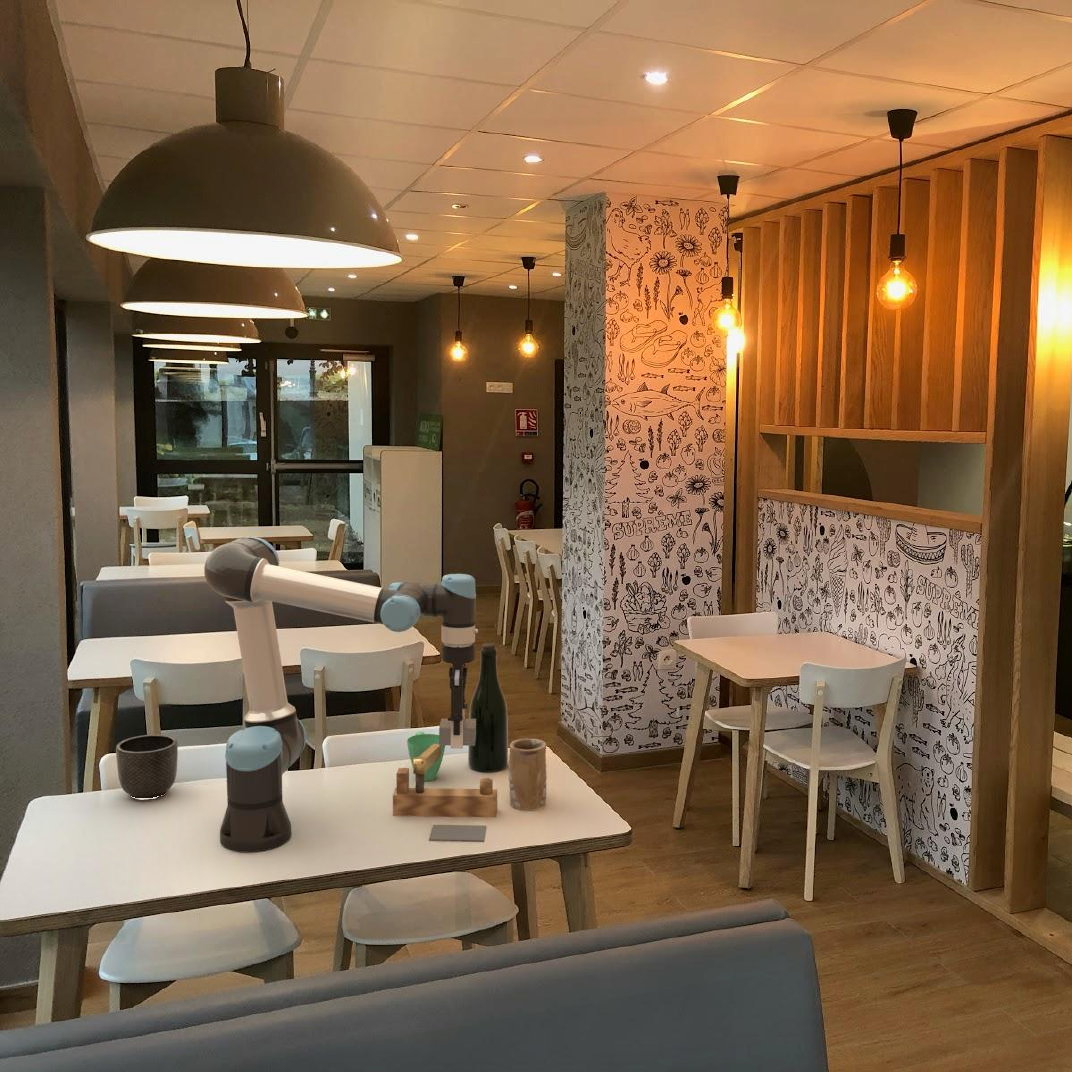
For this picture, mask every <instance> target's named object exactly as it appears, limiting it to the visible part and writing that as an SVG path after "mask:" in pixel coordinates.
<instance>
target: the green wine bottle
mask: <svg viewBox="0 0 1072 1072" xmlns="http://www.w3.org/2000/svg"><path fill="white" fill-rule="evenodd" d="M479 655H480V665H479V666H480V667H479V668H480V669H479V676H478V677H479V678H478V682H477V684H476V687H475V689H474V693H473V696H472V698H471V700H470V705H469V715H468V716H469V717H468V719H476V740H475V746H468V747H467V748H468V749H467V751H468V752H467V753H468V758H467V759H468V761H467V762H468V763H467V764H468V766H469V767H470V768H471V769H472V770H475V771H478V772H487V773H489V772H490V773H491V772H497V771H501V770H503V769H506V768H507V766H508V765H509V739H508V737H509V734H508V733H509V732H508V731H509V727H508V722H509V721H508V719H509V718H508V705H507V701H506V698H505V695H504V692H503V690H502V687H501V685H500V682H499V681H500V680H499V676H498V675H499V674H498V659H497V658H498V657H497V656H498V649H497V648H496V644H494V643H490V642H489V643H488V642H487V643H483V644H482V648H481V649H480V653H479Z"/></svg>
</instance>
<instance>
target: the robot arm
mask: <svg viewBox="0 0 1072 1072" xmlns="http://www.w3.org/2000/svg"><path fill="white" fill-rule="evenodd" d="M203 573H204V578H205V581H206V583H207V584H208V586H209V587H210V588H211V589H212V590H213V591H214V592H215V593H217V595H220V596H222V597H224V602H225V603H226V604H228V605H229V606H231V607H232V609H233V614H234V622H235V626H236V632H237V638H238V640H237V641H238V646H239V652H240V656H241V657H240V658H241V663H242V668H243V669H242V670H243V676H244V682H245V688H246V696H247V700H248V706H249V710H248V712H247V713H246V714H245V715H244V718H243V720H244V727H245V728H244V729H239V730H237V731H236V732H234V733H233V734H231V735H230V737H229V738H228V739H227V741H226V746H225V749H226V750H225V755H224V757H225V764H226V765H225V766H226V767H225V769H226V771H225V772H226V773H225V774H226V796H227V797H226V798H227V799H226V800H227V802H226V803H227V806H226V811H225V813H224V817H223V820H222V822H221V826H220V830H219V842H220V845H221V846H223V848H226V849H227V850H230V851H234V852H247V853H248V852H249V853H250V852H252V853H253V852H262V851H266V850H271V849H274V848H277V847H279V846H281V845H283V844H285V843H286V842H288V841H289V840H290V839H291V837H292V824H291V820H290V817H289V815H288V812H287V808H286V807H285V805H284V801H283V799H284V798H283V774H285V772H286V771H287V770H288V769H289V768H290V767H291V766H292V765H293V764H294V763H295V762H297V761H298V759H299V758H300V757H301V756H302V752H303V751H304V749H305V746H306V743H307V732H306V728H305V725H304V723H302V721H301V720H300V719H298V716H297V710H296V707H295V706H294V705H292V704H291V703H289V702H288V701H289V700H288V696H287V695H288V694H287V690H286V684H285V678H284V670H283V665H282V663H283V662H282V658H281V650H280V645H279V639H278V638H279V637H278V632H277V625H276V619H275V613H274V606H273V602H274V603H279V604H282V605H290V606H293V607H298V608H303V609H307V610H311V611H318V612H322V613H326V614H327V613H328V614H332V615H336V616H341V617H347V618H351V619H356V620H359V621H360V620H361V621H366V622H369V623H370V622H371V623H375V624H380V625H382V626H385V628H386V629H388V630H390V631H392V632H396V633H401V632H406V631H408V630H409V629H411V628H413V627H414V626H415V625H416V624H417V623H418V622H419V620H420V619H421V618H422V617H423V618H425V617H427V618H429V617H431V618H433V617H434V618H438V617H439V618H441V642H442V645H441V660H442V661H443V662H444V663H447V664H452V666H451V667H449V670H448V677H449V689H450V690H451V691H450V717H447V719H448V721H451V745H450V750H452V749H454V750H455V749H456V750H457V749H461V750H462V749H464V746H463V719H466V718H465V716H466V715H465V713H466V711H465V709H468V703H466V698H465V697H466V693H465V692H466V691H465V690H466V686H467V685H466V684H467V678H468V667H467V666H466V664H469V663H473V662H474V661H475V659H476V644H474V643H475V642H476V634H478V633H479V630H478V628H476V614H477V611H476V609H477V593H476V579H475V578H474V576H473V575H470V574H467V573H466V574H465V573H449V574H445V575H443V576H442V579H441V582H439V583H432V582H431V583H427V582H426V583H425V582H410V581H409V582H408V581H403V582H399V581H398V582H393V583H390V585H389V587H388V588H383V587H379V586H374V585H371V584H365V583H359V582H355V581H350V580H348V579H347V580H346V579H341V578H336V577H333V576H326V575H322V574H319V573H318V574H317V573H313V572H307V571H304V570H298V569H293V568H288V567H284V566H280V558H279V555H278V552H277V550H276V549H275V547H274V546H273V545H272V544H271V543H269V542H268V541H267V540H266V539H264V538H260V537H255V536H247V537H245V536H244V537H239V538H236V539H235V540H233V541H230V542H227V543H224V544H221V545H219V546H217V547H216V548H214V549H213V550H212V551H211V552H210V553H209V555H208V556H207V558H206V560H205V562H204V572H203Z"/></svg>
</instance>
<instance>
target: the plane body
mask: <svg viewBox="0 0 1072 1072" xmlns="http://www.w3.org/2000/svg"><path fill="white" fill-rule="evenodd" d="M395 776H396V787H395V789H394V790H393V791H394V792H393V794H392V816H399V817H400V816H401V817H449V818H450V817H452V818H453V817H455V818H456V817H461V818H497V814H498V789H497V788H496V789H495V788H494V789H493V786H494V785H493V783H494V781H493V779H492V778H490V777H483V778H480V779H479V788H447V787H445V788H442V787H440V788H439V787H437V788H436V787H434V788H433V787H431V788H429V787H425V781H424V774H420V775H418V774H415V787H410V768H408V767H398V769H397V771H396V775H395Z"/></svg>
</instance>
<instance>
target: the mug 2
mask: <svg viewBox="0 0 1072 1072" xmlns="http://www.w3.org/2000/svg"><path fill="white" fill-rule="evenodd" d="M546 751H547V743H546V742H545V741H544V740H541V739H537V738H519V739H516V740H513V741H511V742H510V743H509V753H508V783H509V784H508V786H509V801H510V803H509V804H510V806H511V807H513V808H514V809H517V810H523V811H536V810H540V809H543V808H545V806H546V801H547V779H548V778H547V777H548V776H547V774H548V773H547V760H546V758H547V757H546V753H547V752H546Z"/></svg>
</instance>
